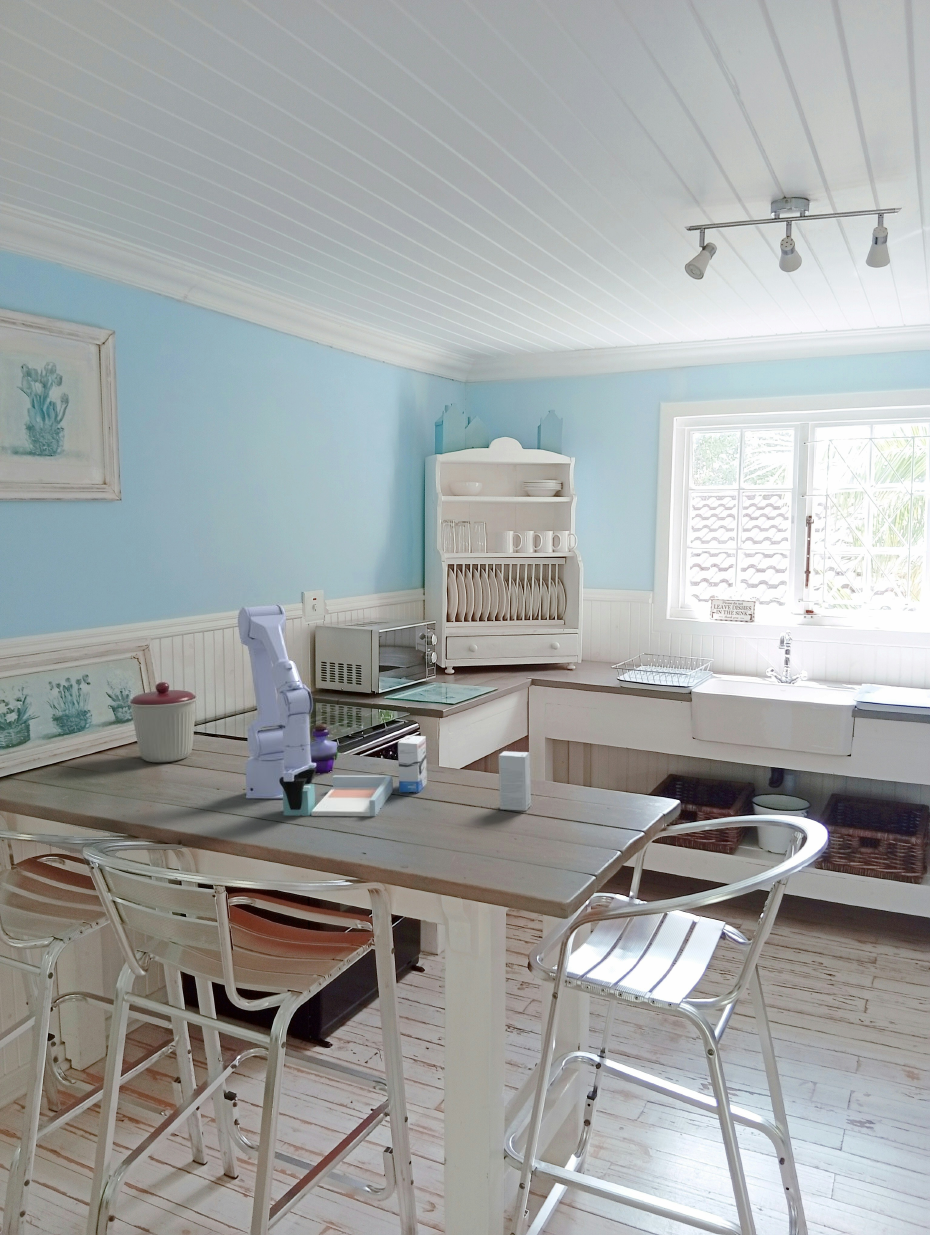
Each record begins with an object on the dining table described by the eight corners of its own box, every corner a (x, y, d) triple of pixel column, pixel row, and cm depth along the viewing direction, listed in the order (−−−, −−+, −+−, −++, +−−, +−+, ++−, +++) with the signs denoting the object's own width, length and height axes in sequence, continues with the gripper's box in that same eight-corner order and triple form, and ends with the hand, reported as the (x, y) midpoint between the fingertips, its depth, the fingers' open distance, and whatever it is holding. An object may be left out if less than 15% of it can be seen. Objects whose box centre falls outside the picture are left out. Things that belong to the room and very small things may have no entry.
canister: (173, 747, 277) (168, 675, 275) (214, 755, 266) (210, 679, 264) (117, 761, 262) (112, 684, 260) (159, 770, 252) (154, 690, 249)
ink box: (419, 793, 223) (417, 743, 222) (398, 792, 224) (396, 742, 223) (427, 783, 232) (426, 735, 230) (407, 783, 233) (406, 734, 231)
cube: (283, 815, 209) (282, 790, 209) (291, 808, 215) (290, 783, 214) (308, 815, 209) (307, 790, 208) (315, 808, 214) (314, 783, 214)
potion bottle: (345, 771, 245) (343, 725, 243) (314, 777, 240) (312, 730, 239) (330, 765, 252) (328, 719, 251) (299, 770, 247) (297, 724, 246)
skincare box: (531, 805, 211) (530, 752, 210) (526, 811, 207) (525, 756, 206) (504, 803, 213) (503, 750, 212) (499, 809, 209) (497, 755, 208)
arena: (311, 815, 208) (310, 799, 208) (334, 789, 228) (333, 775, 228) (375, 816, 207) (374, 800, 206) (393, 790, 226) (392, 775, 226)
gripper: (305, 752, 203) (308, 815, 204) (323, 736, 217) (325, 795, 218) (272, 752, 203) (275, 815, 205) (292, 736, 218) (295, 795, 219)
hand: (299, 805), depth 212 cm, fingers closed on cube, 5 cm apart
